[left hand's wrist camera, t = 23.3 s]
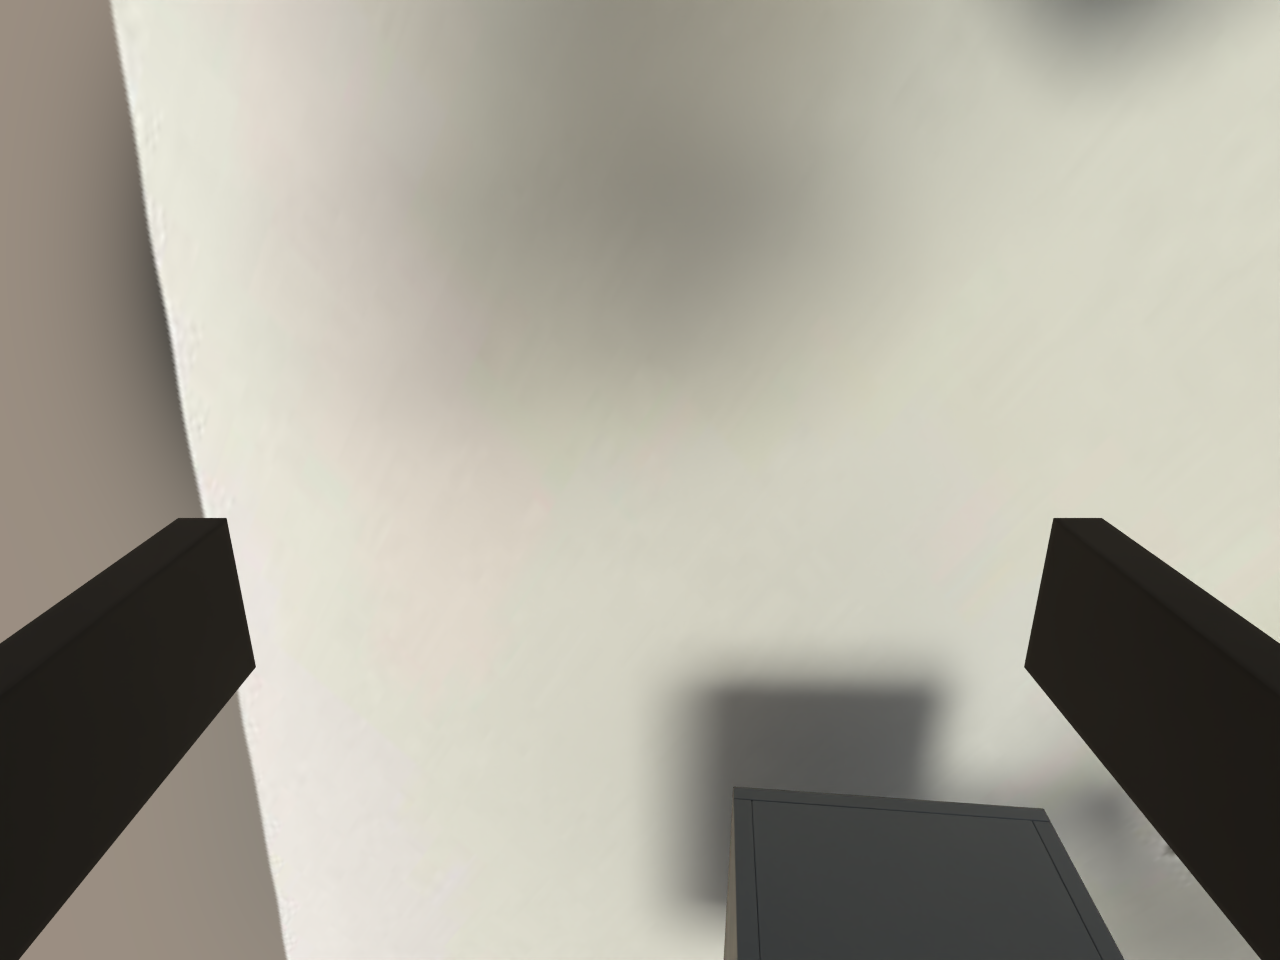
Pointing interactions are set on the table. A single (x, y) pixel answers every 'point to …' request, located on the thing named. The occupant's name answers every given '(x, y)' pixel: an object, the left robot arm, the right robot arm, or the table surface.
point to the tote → (902, 882)
